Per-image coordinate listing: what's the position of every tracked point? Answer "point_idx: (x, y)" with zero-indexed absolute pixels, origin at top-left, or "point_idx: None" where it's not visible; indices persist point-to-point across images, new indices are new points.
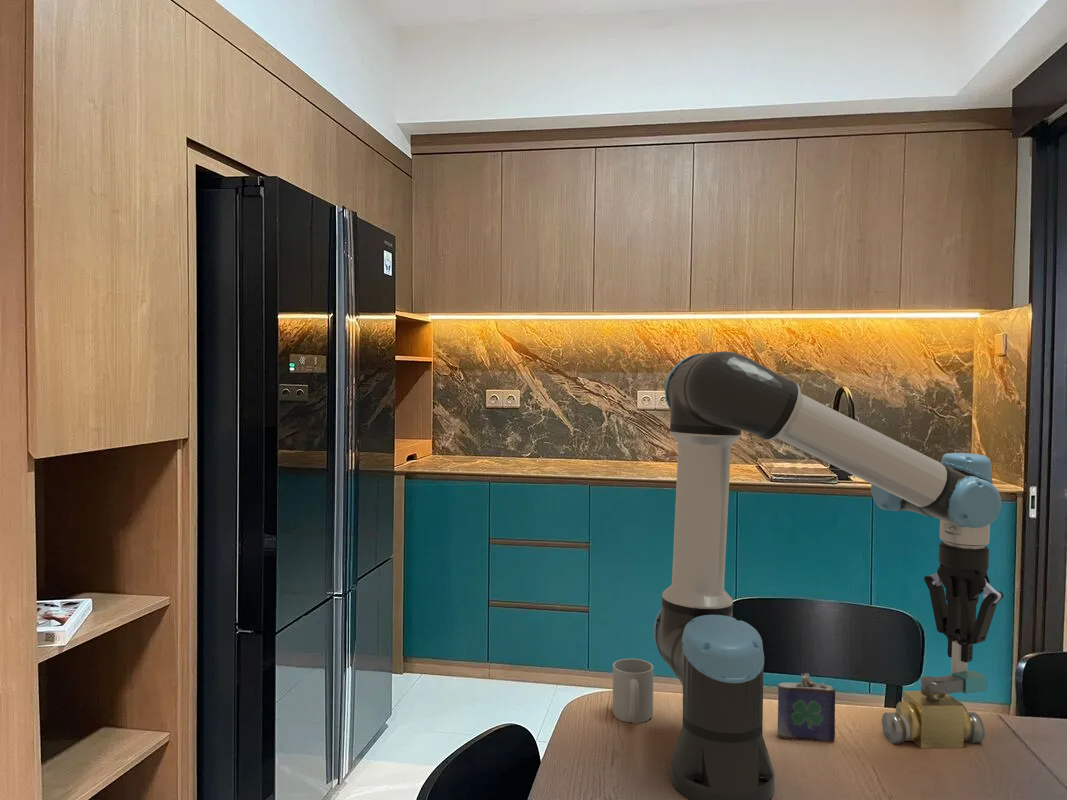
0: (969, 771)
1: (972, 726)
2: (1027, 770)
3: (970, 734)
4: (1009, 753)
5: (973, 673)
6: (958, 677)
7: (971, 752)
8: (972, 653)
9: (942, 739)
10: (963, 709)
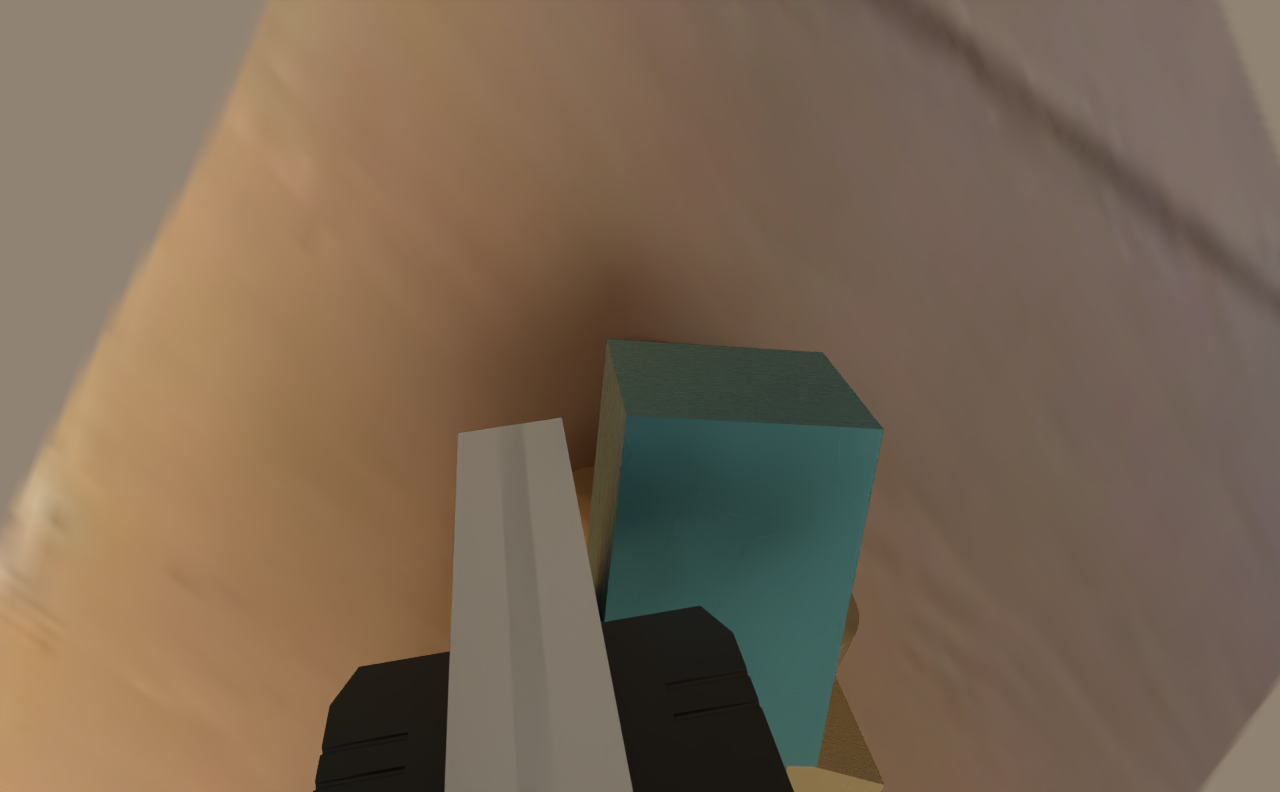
0: (996, 761)
1: None
2: (1185, 437)
3: None
4: (992, 329)
5: (724, 520)
6: None
7: None
8: (757, 700)
9: None
10: (869, 759)
